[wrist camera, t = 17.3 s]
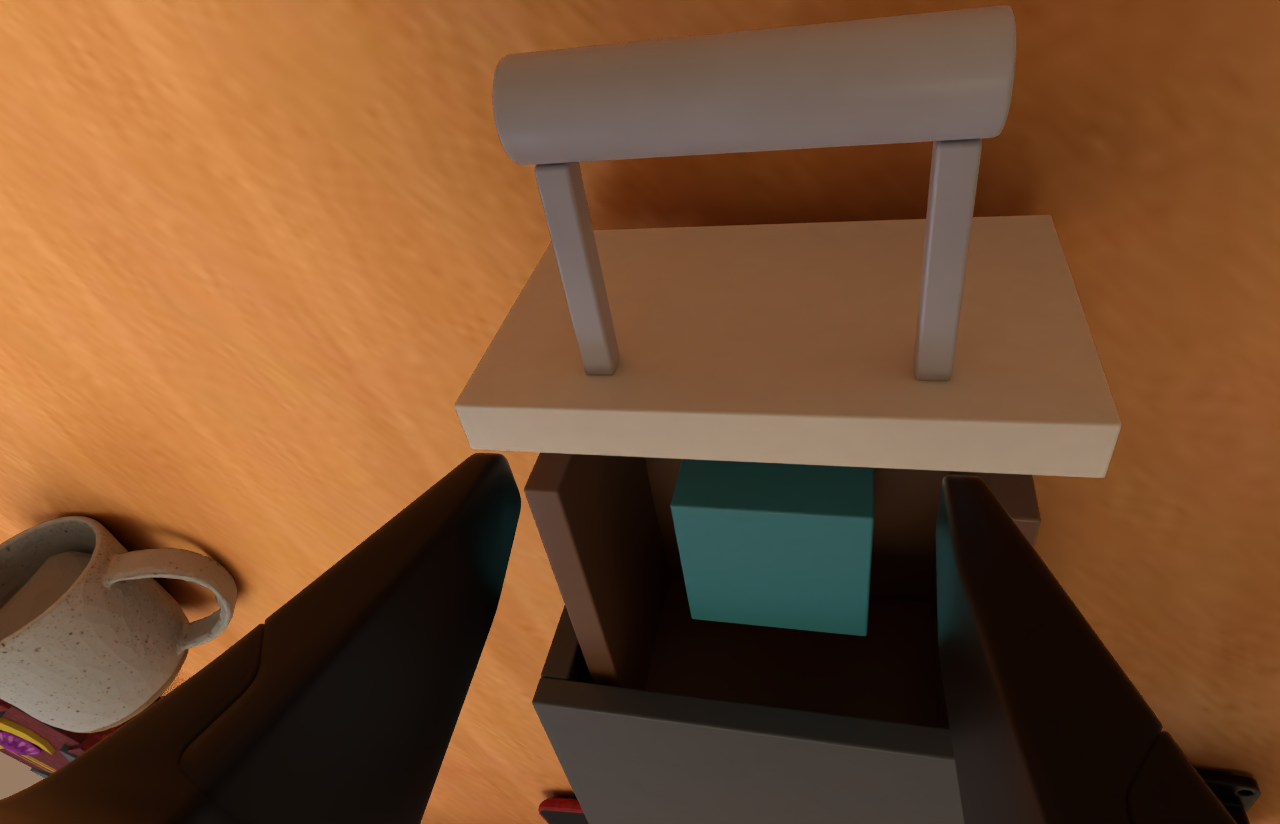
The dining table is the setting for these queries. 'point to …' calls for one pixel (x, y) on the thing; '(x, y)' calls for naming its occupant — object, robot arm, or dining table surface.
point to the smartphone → (562, 811)
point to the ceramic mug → (96, 623)
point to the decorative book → (43, 740)
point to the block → (776, 543)
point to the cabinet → (735, 757)
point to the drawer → (780, 343)
